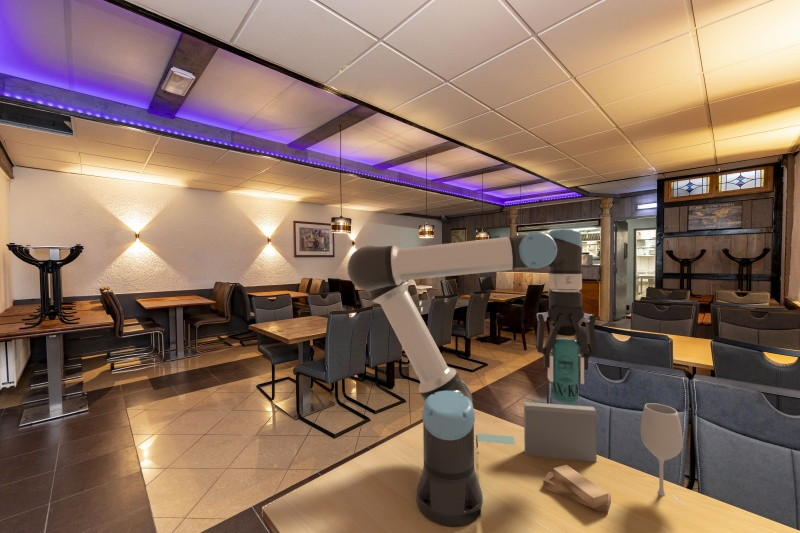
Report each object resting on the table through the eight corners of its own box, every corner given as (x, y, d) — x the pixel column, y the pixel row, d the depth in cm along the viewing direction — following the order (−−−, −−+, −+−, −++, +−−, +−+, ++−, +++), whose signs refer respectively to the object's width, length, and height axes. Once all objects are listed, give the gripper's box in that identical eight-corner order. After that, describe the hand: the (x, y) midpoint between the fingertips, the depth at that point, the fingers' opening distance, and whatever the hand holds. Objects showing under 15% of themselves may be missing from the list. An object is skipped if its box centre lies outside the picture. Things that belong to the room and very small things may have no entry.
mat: (478, 454, 95) (478, 452, 95) (477, 434, 105) (477, 433, 105) (518, 458, 92) (518, 456, 92) (513, 438, 103) (513, 436, 103)
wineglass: (691, 513, 71) (690, 417, 71) (651, 509, 73) (651, 414, 73) (670, 490, 79) (669, 403, 79) (634, 486, 80) (634, 400, 80)
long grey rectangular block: (525, 459, 92) (525, 405, 92) (524, 454, 94) (523, 401, 94) (596, 467, 88) (596, 410, 88) (593, 461, 90) (593, 406, 90)
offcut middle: (543, 488, 78) (543, 480, 78) (549, 479, 81) (549, 471, 81) (607, 514, 70) (607, 505, 70) (610, 503, 73) (610, 494, 73)
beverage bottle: (547, 398, 87) (547, 323, 87) (574, 399, 86) (573, 323, 86) (555, 409, 81) (555, 328, 81) (584, 410, 80) (584, 328, 80)
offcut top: (553, 476, 79) (553, 468, 79) (566, 472, 81) (566, 464, 81) (593, 507, 69) (593, 498, 69) (608, 502, 70) (608, 493, 70)
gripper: (527, 291, 82) (527, 383, 82) (613, 292, 78) (614, 389, 78) (522, 289, 89) (522, 373, 89) (601, 289, 85) (601, 378, 85)
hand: (565, 380), depth 84 cm, fingers closed on beverage bottle, 6 cm apart
